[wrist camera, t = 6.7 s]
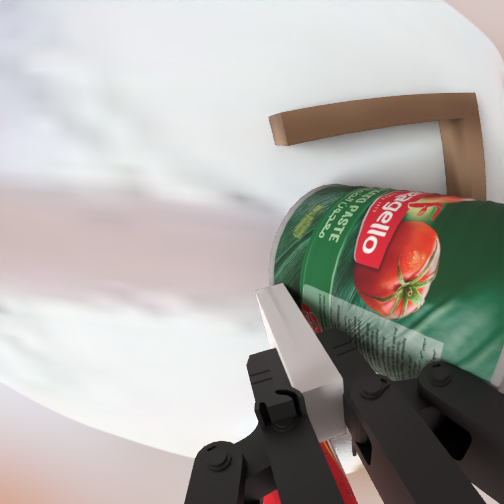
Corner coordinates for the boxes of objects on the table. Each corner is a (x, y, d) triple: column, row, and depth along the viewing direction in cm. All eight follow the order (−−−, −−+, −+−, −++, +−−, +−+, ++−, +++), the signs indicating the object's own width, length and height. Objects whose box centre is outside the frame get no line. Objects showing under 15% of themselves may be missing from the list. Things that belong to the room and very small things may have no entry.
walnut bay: (268, 116, 15) (280, 113, 13) (449, 94, 16) (475, 92, 13) (317, 352, 20) (330, 375, 18) (459, 293, 21) (478, 307, 19)
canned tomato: (333, 345, 18) (490, 432, 9) (237, 293, 14) (469, 435, 5) (391, 233, 19) (552, 274, 10) (321, 151, 15) (554, 160, 6)
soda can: (328, 402, 23) (387, 528, 11) (318, 450, 25) (359, 554, 14) (239, 417, 22) (267, 560, 11) (243, 463, 24) (266, 576, 13)
